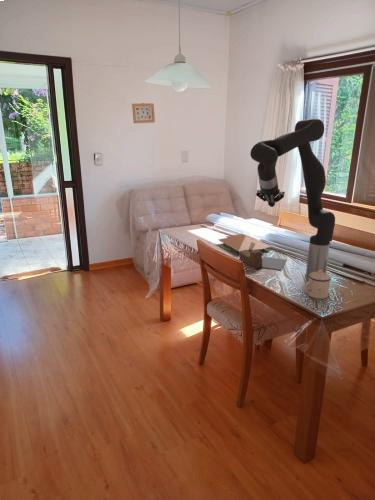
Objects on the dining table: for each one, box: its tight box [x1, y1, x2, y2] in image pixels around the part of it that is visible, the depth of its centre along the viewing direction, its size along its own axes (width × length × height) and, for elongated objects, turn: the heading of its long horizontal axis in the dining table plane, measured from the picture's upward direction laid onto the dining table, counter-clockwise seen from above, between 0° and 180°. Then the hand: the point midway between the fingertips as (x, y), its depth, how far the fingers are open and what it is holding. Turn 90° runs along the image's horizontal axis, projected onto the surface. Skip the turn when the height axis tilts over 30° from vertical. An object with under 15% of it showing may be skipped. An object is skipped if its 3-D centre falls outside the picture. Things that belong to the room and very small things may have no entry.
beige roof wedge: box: [217, 233, 272, 254], centre depth 227 cm, size 23×33×8 cm
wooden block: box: [238, 249, 263, 270], centre depth 199 cm, size 9×4×18 cm
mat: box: [261, 256, 288, 271], centre depth 200 cm, size 13×18×1 cm
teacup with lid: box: [304, 270, 332, 300], centre depth 159 cm, size 12×9×12 cm
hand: (271, 205), depth 170 cm, fingers closed
